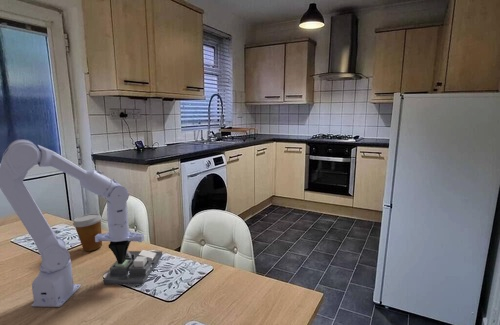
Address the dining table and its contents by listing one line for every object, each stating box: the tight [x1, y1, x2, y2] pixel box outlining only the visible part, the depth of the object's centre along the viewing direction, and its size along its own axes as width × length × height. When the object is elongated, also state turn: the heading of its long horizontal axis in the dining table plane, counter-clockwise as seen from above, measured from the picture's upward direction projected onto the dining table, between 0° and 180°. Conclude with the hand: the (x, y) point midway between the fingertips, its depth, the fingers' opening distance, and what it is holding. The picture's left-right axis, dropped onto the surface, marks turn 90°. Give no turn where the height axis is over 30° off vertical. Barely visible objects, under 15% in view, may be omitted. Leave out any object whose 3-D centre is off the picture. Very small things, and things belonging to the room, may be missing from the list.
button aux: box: [133, 256, 147, 267], centre depth 91 cm, size 3×3×2 cm
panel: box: [103, 250, 163, 286], centre depth 95 cm, size 18×12×3 cm
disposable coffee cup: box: [72, 212, 103, 252], centre depth 108 cm, size 10×10×12 cm
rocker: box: [138, 249, 156, 260], centre depth 98 cm, size 4×5×1 cm
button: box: [115, 260, 129, 267], centre depth 92 cm, size 3×3×2 cm
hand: (121, 262), depth 92 cm, fingers closed, pressing on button
